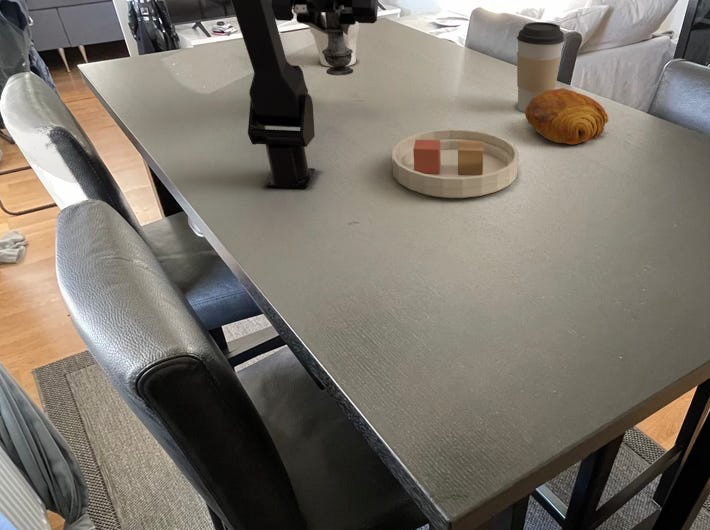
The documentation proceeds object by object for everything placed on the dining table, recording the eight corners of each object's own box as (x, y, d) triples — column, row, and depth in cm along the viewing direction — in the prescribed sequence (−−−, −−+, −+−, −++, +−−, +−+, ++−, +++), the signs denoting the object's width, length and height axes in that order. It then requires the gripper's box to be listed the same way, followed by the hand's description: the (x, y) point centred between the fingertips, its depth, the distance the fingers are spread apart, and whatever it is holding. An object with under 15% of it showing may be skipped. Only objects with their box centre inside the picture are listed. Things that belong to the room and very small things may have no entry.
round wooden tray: (519, 202, 88) (521, 180, 86) (385, 199, 89) (383, 177, 86) (514, 150, 103) (516, 130, 101) (399, 148, 103) (398, 127, 101)
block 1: (439, 174, 94) (438, 149, 91) (414, 173, 94) (413, 148, 91) (440, 164, 97) (440, 139, 94) (416, 163, 97) (415, 139, 94)
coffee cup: (505, 110, 118) (510, 25, 108) (522, 98, 124) (529, 16, 114) (546, 118, 115) (555, 31, 105) (562, 105, 121) (573, 21, 111)
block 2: (482, 175, 94) (483, 150, 91) (457, 174, 94) (457, 150, 91) (482, 165, 97) (483, 140, 94) (458, 164, 97) (458, 140, 94)
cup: (306, 58, 144) (298, 6, 137) (355, 53, 148) (350, 2, 141) (319, 72, 136) (311, 17, 129) (370, 66, 140) (366, 12, 132)
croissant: (542, 161, 105) (548, 117, 99) (515, 119, 114) (519, 77, 108) (615, 151, 108) (626, 108, 101) (583, 111, 117) (591, 69, 111)
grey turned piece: (348, 76, 112) (340, 3, 104) (320, 74, 113) (309, 1, 105) (359, 68, 117) (352, -3, 109) (331, 66, 117) (322, -4, 109)
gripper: (371, -76, 96) (388, -8, 111) (260, -79, 97) (292, -11, 112) (366, -10, 95) (384, 49, 111) (255, -14, 96) (288, 45, 112)
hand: (337, 31), depth 112 cm, fingers closed on grey turned piece, 3 cm apart
